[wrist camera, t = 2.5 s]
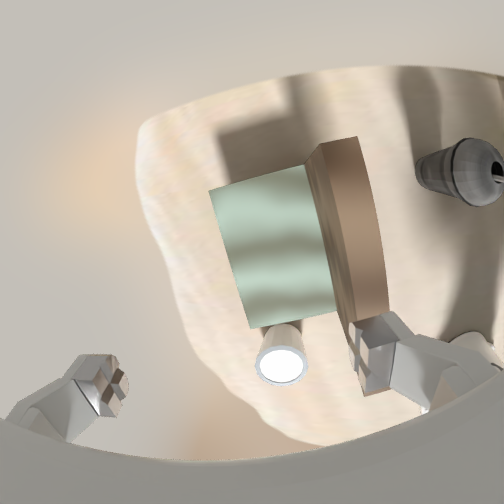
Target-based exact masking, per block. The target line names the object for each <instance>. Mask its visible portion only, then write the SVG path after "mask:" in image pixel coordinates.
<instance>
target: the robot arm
mask: <svg viewBox="0 0 504 504" xmlns="http://www.w3.org/2000/svg"><path fill="white" fill-rule="evenodd" d="M349 335H350V337H351V339H352V340H351V342H350V343H349V356H350V361H351V364H352V367H353V369H354V371H356V372H358V373H359V377H358V380H359V382H360V384H361V386H362V388H363V390H364V392H365V393H367V392H371V391H374V390H378V389H381V388H384V387H388V386H389V387H390V388H392V389H393V390H395V391H397V392H398V393H400V394H402V395H403V396H405V397H407V398H408V399H410V400H412V401H413V402H415V403H417V404H419V405H420V410H421V416H418V417H416V418H414V419H411V420H409V421H406V422H404V423H401V424H398V425H396V426H393V427H390V428H388V429H385V430H382V431H379V432H376V433H373V434H370V435H367V436H363V437H360V438H357V439H353V440H350V441H346V442H342V443H338V444H334V445H330V446H326V447H322V448H316V449H312V450H306V451H301V452H295V453H289V454H283V455H276V456H267V457H259V458H248V459H232V460H174V459H173V460H172V459H159V458H149V457H140V456H132V455H125V454H119V453H113V452H107V451H102V450H97V449H93V448H88V447H84V446H80V445H76V444H72V443H71V442H72V441H73V440H74V439H75V438H76V437H77V436H79V435H80V434H81V433H82V432H83V431H84V430H85V429H86V428H87V427H89V426H90V425H91V424H92V423H93V422H94V421H95V420H96V419H97V418H98V417H99V416H104V417H117V415H118V413H119V411H120V409H121V407H122V403H121V400H122V399H124V398H125V397H126V396H127V393H128V389H129V383H128V380H127V377H126V375H125V373H124V372H122V371H121V370H120V369H119V362H118V360H117V359H116V357H115V356H113V355H107V354H82V355H79V356H78V357H77V359H76V360H75V361H74V363H73V364H72V365H71V366H70V368H69V369H68V370H67V372H66V373H65V374H64V376H63V377H62V378H61V379H60V378H59V379H57V380H55V381H54V382H52V383H50V384H48V385H47V386H45V387H43V388H41V389H40V390H38V391H36V392H35V393H33V394H31V395H29V396H27V397H26V398H24V399H22V400H21V401H19V402H18V403H17V404H16V405H15V407H14V408H13V409H12V411H11V412H10V413H9V415H8V416H7V418H6V419H5V420H4V419H2V418H0V504H504V364H503V362H502V361H501V360H500V358H499V357H498V355H497V354H496V353H495V347H494V345H493V344H492V343H489V342H487V341H486V339H485V338H484V336H483V335H482V334H481V333H479V332H468V333H465V334H462V335H460V336H458V337H457V338H455V339H454V340H452V341H451V342H450V343H447V342H444V341H440V340H437V339H434V338H430V337H427V336H424V335H420V334H418V335H414V333H413V332H412V331H411V330H410V329H409V328H408V327H407V326H406V325H405V323H404V322H403V321H402V320H401V319H400V318H399V317H398V316H397V315H396V314H395V313H394V312H393V311H389V312H385V313H382V314H379V315H377V316H373V317H370V318H366V319H362V320H359V321H355V322H351V323H350V324H349Z"/></svg>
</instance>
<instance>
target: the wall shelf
mask: <svg viewBox="0 0 504 504" xmlns="http://www.w3.org/2000/svg"><path fill="white" fill-rule="evenodd" d="M209 194H210V198H211V201H212V205H213V208H214V211H215V215H216V218H217V222H218V225H219V229H220V232H221V235H222V239H223V242H224V245H225V249H226V252H227V255H228V259H229V262H230V265H231V268H232V272H233V275H234V278H235V281H236V285H237V288H238V291H239V294H240V298H241V301H242V304H243V307H244V310H245V313H246V317H247V320H248V323H249V326H250V329H254V328H259V327H264V326H270V325H275V324H280V323H285V322H290V321H294V320H299V319H304V318H308V317H313V316H317V315H321V314H326V313H330V312H334V311H337V312H338V315H339V318H340V321H341V324H342V327H343V330H344V333H345V336H346V339H347V342H348V345H349V343H350V342H351V340H352V339H351V337H350V335H349V324H350V323H351V322H355V321H359V320H362V319H366V318H370V317H373V316H377V315H379V314H382V313H385V312H389V311H390V309H389V297H388V287H387V278H386V270H385V262H384V255H383V248H382V242H381V236H380V230H379V225H378V219H377V214H376V209H375V204H374V200H373V195H372V190H371V186H370V182H369V178H368V174H367V170H366V166H365V162H364V158H363V155H362V151H361V147H360V144H359V141H358V137H357V136H356V137H351V138H345V139H340V140H336V141H331V142H326V143H321V144H319V146H318V147H317V148H316V149H315V151H314V152H313V153H312V155H311V156H310V157H309V158H308V160H307V161H306V162H305V164H304V165H300V166H296V167H291V168H288V169H284V170H280V171H276V172H272V173H268V174H265V175H261V176H257V177H254V178H250V179H247V180H243V181H240V182H236V183H233V184H230V185H226V186H223V187H220V188H216V189H213V190H210V191H209ZM357 374H358V377H359V373H358V372H357ZM361 387H362V386H361ZM390 389H392V388H390V387H389V386H388V387H384V388H381V389H378V390H374V391H371V392H367V393H365V392H364V390H363V388H362V391H363V394H364V397H366V396H369V395H373V394H376V393H380V392H383V391H387V390H390Z"/></svg>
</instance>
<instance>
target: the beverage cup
mask: <svg viewBox="0 0 504 504" xmlns="http://www.w3.org/2000/svg"><path fill="white" fill-rule="evenodd" d="M415 175H416V178H417V180H418V182H419V184H420V185H421V186H423V187H424V188H427V189H429V190H432V191H436V192H439V193H443V194H446V195H450V196H453V197H456V198H459V199H460V200H462V201H464V202H466V203H467V204H469V205H470V206H475V207H479V206H484V205H488V204H491V203H493V202H495V201H496V200H497V199H498V198H499V197H500V196H501V195H502V193H503V191H504V160H503V158H502V157H501V155H500V153H499V152H498V151H497V150H496V149H495V148H494V147H493V146H492V145H491V144H489V143H488V142H486V141H483V140H480V139H474V138H464V139H462V140H461V141H459V142H458V143H457V144H455V145H454V146H452V147H449V148H446V149H444V150H441V151H438V152H435V153H433V154H430V155H427V156H426V157H424V158H421V159H420V160H419V161H418V162H417V164H416V167H415Z"/></svg>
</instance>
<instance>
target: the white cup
mask: <svg viewBox="0 0 504 504" xmlns="http://www.w3.org/2000/svg"><path fill="white" fill-rule="evenodd" d="M255 368H256V372H257V374H258V375H259V377H260V378H261V379H262V380H263V381H265V382H267V383H269V384H271V385H277V386H286V385H292V384H294V383H296V382H298V381H300V380H301V379H302V378H303V377H304V376H305V375H306V372H307V369H308V363H307V358H306V353H305V349H304V345H303V341H302V336H301V333H300V332H299V330H298V329H297V328H296V327H294V326H292V325H290V324H284V323H283V324H277V325H274V326H273V327H271V328H269V330H268V331H267V332H266V334H265V337H264V339H263V342H262V345H261V348H260V350H259V353H258V356H257V358H256V363H255Z"/></svg>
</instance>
